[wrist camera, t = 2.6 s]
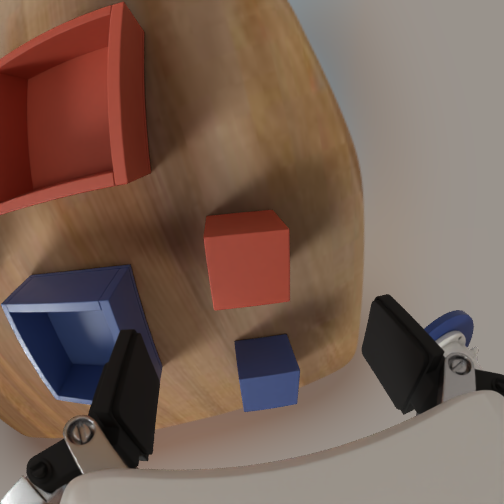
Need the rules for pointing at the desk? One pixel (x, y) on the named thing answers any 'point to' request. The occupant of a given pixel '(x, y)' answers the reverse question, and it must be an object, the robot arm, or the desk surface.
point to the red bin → (73, 110)
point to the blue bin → (76, 325)
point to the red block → (247, 259)
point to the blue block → (267, 372)
